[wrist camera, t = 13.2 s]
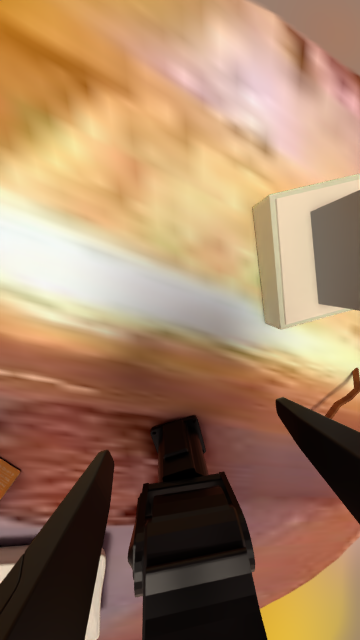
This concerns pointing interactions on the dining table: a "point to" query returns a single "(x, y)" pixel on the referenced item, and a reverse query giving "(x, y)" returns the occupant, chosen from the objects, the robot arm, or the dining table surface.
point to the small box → (6, 476)
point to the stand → (293, 251)
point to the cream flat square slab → (6, 558)
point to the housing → (338, 252)
